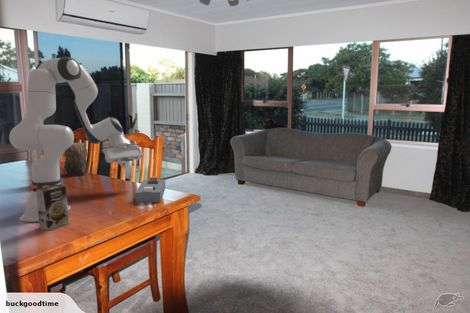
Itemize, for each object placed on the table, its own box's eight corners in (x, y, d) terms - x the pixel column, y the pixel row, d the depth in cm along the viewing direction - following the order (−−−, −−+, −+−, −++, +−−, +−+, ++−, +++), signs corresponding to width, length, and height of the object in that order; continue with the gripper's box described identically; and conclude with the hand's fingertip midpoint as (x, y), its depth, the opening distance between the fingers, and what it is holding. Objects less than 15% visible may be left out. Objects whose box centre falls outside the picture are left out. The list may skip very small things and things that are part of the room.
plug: (131, 178, 191) (130, 158, 189) (123, 178, 191) (122, 158, 189) (132, 176, 195) (131, 157, 193) (125, 176, 195) (124, 157, 193)
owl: (64, 175, 226) (61, 144, 222) (73, 171, 238) (70, 141, 235) (83, 175, 226) (81, 144, 222) (91, 171, 238) (89, 141, 234)
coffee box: (48, 231, 139) (44, 191, 136) (39, 227, 142) (35, 188, 139) (69, 223, 146) (66, 186, 143) (60, 220, 150) (57, 183, 147)
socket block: (160, 202, 175) (160, 188, 173) (135, 202, 174) (135, 188, 172) (165, 188, 199) (165, 175, 198) (143, 188, 198) (143, 176, 197)
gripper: (102, 144, 188) (110, 165, 183) (138, 141, 201) (147, 160, 196) (100, 151, 193) (108, 172, 187) (135, 147, 206) (143, 167, 200)
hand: (128, 166), depth 192 cm, fingers closed on plug, 4 cm apart
